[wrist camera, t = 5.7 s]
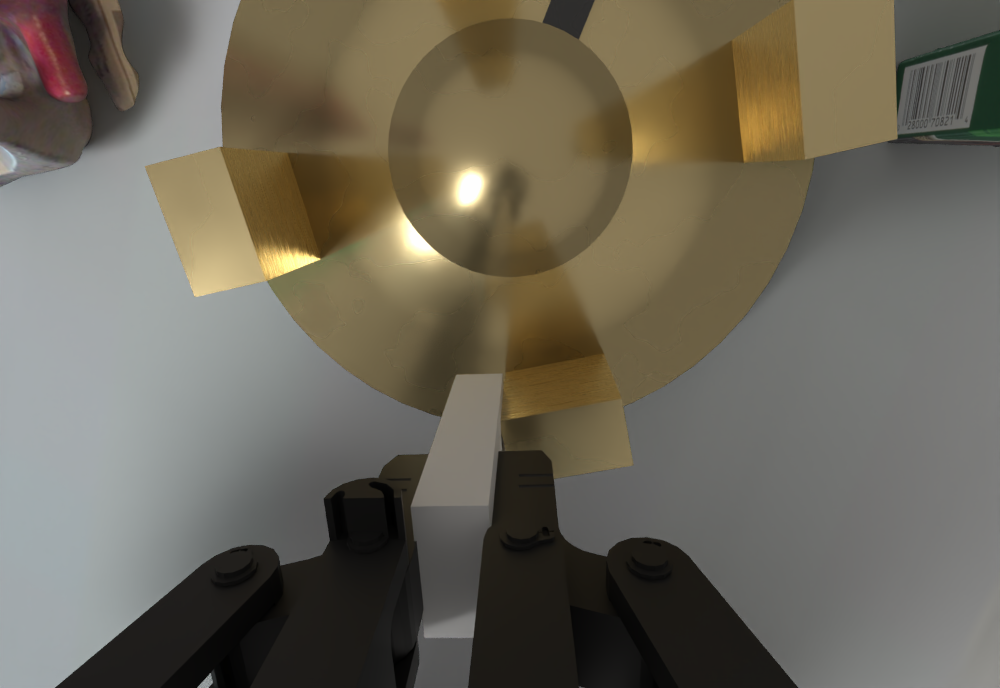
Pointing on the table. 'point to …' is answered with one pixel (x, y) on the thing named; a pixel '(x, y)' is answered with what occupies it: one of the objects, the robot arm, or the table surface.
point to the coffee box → (951, 95)
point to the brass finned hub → (524, 186)
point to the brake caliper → (55, 81)
